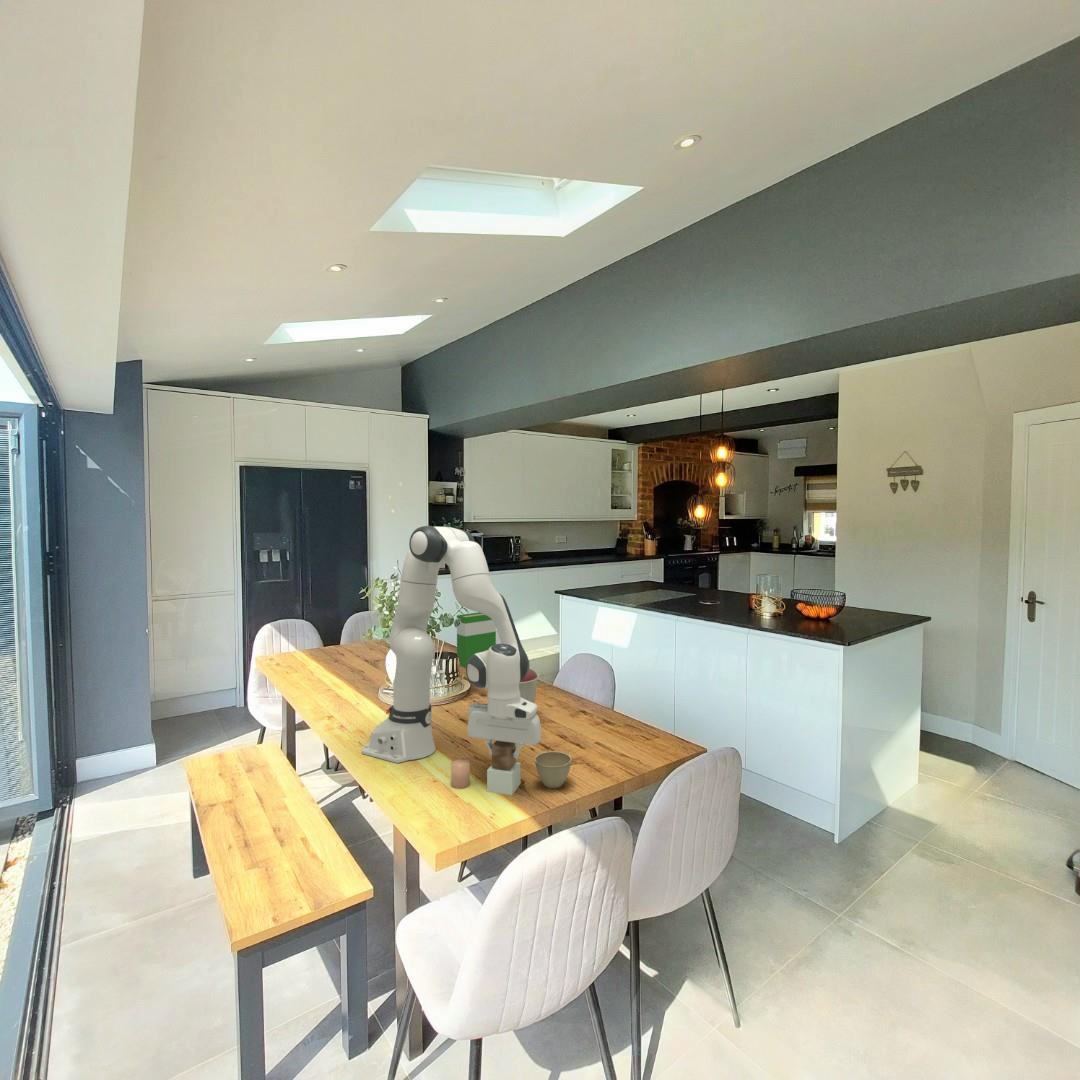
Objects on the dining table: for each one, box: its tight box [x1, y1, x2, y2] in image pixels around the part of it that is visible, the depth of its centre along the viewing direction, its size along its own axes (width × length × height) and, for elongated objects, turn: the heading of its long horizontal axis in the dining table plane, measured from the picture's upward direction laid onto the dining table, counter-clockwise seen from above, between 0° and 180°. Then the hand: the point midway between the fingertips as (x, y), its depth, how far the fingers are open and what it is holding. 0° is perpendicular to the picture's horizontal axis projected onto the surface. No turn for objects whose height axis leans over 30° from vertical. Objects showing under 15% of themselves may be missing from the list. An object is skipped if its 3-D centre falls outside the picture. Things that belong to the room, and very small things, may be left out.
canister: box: [519, 668, 540, 704], centre depth 212 cm, size 18×18×21 cm
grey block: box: [486, 761, 522, 796], centre depth 162 cm, size 7×7×6 cm
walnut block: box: [491, 740, 517, 770], centre depth 162 cm, size 5×5×6 cm
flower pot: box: [534, 750, 572, 789], centre depth 164 cm, size 10×10×7 cm
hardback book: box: [456, 612, 497, 669], centre depth 291 cm, size 18×7×24 cm, turn 130°
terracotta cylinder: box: [450, 758, 471, 790], centre depth 164 cm, size 5×5×6 cm
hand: (503, 756), depth 161 cm, fingers open, 5 cm apart
